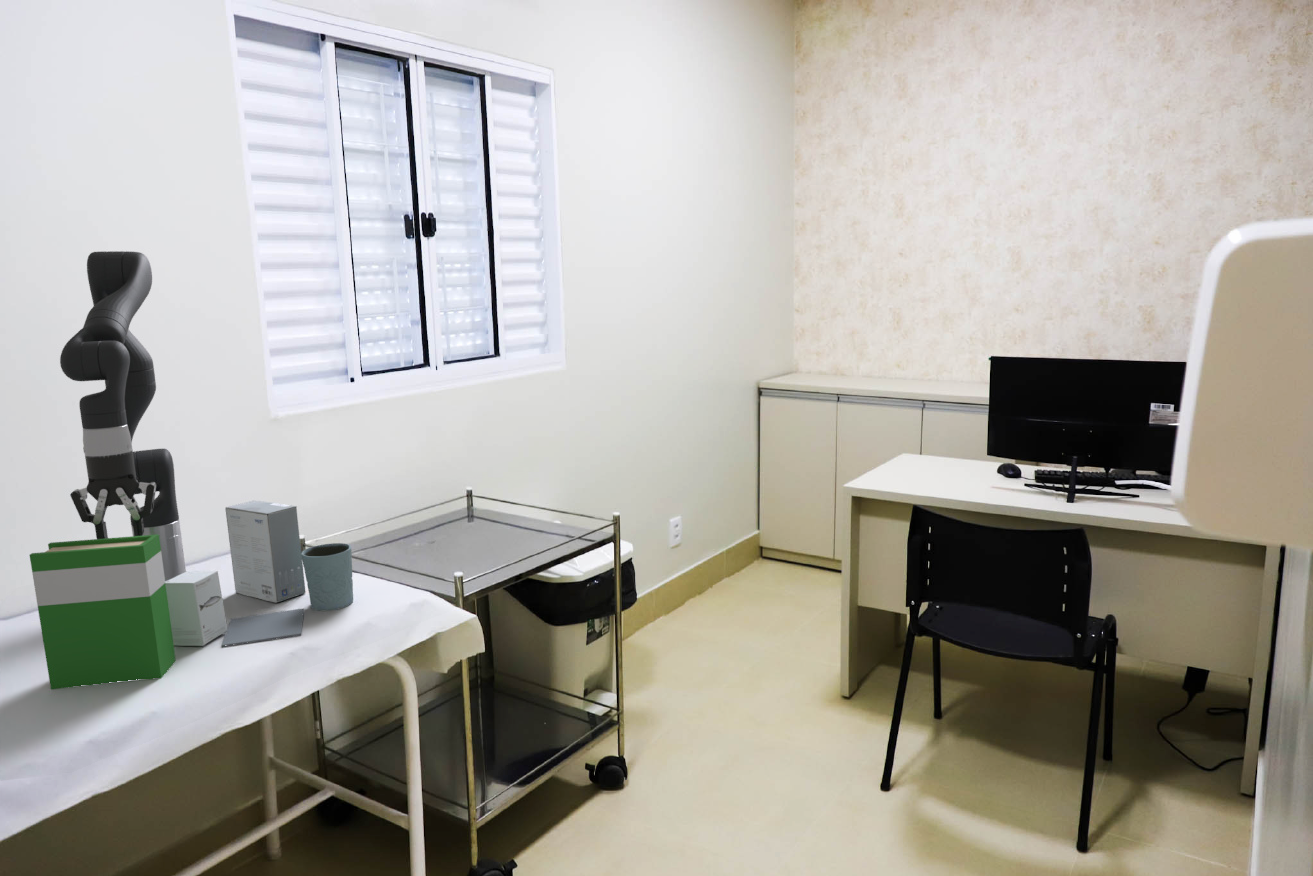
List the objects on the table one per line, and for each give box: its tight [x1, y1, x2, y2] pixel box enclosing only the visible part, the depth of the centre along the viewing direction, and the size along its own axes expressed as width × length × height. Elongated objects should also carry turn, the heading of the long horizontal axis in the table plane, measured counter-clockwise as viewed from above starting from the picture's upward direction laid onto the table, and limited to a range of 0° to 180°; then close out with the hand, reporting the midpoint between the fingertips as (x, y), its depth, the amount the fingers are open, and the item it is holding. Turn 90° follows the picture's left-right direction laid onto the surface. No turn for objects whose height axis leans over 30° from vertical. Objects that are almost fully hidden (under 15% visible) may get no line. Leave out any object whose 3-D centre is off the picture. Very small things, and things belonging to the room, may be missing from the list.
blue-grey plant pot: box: [301, 542, 354, 611], centre depth 192 cm, size 10×10×12 cm
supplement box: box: [165, 570, 228, 647], centre depth 174 cm, size 7×7×13 cm
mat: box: [221, 607, 305, 647], centre depth 181 cm, size 15×14×1 cm
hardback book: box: [29, 534, 177, 690], centre depth 158 cm, size 18×7×24 cm, turn 100°
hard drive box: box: [225, 500, 307, 603], centre depth 200 cm, size 16×8×20 cm, turn 58°
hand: (121, 540), depth 168 cm, fingers open, 5 cm apart
